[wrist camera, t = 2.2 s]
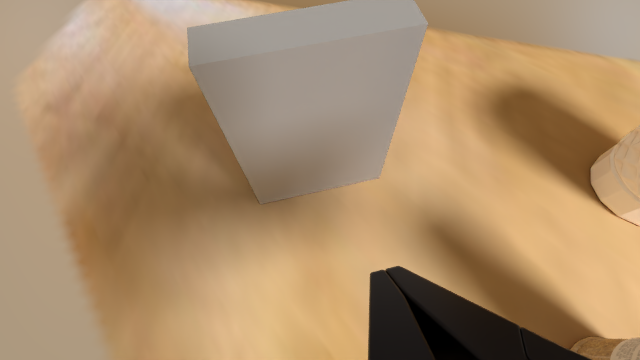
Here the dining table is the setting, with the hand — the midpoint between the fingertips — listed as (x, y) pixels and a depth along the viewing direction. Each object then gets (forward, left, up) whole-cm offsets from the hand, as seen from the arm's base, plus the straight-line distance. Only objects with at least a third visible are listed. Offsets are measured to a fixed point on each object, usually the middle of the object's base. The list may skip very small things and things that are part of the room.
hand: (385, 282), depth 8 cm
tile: (+10, +5, -14) cm, 17 cm away
